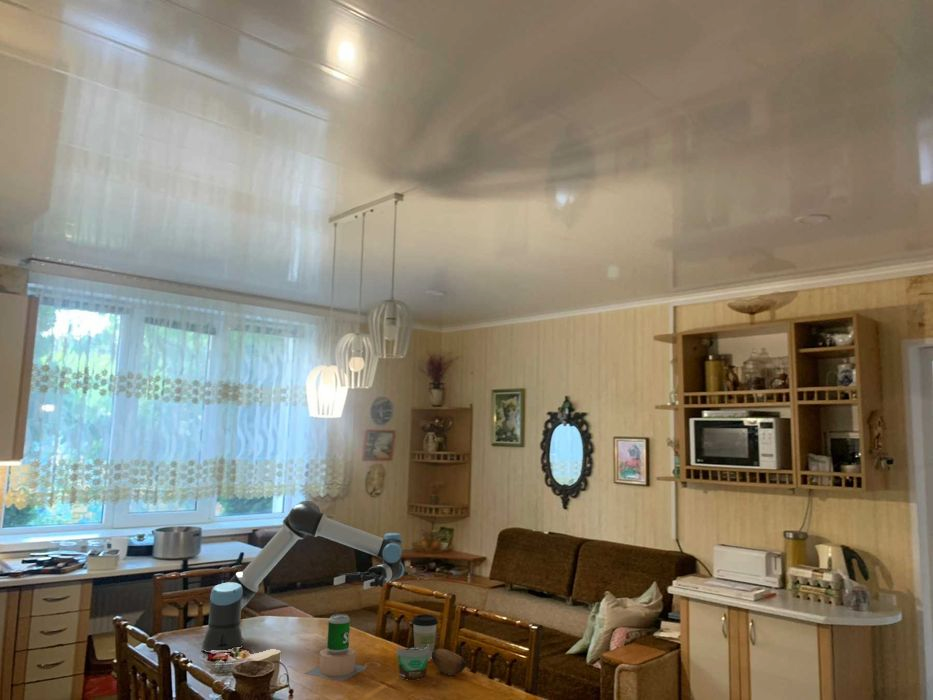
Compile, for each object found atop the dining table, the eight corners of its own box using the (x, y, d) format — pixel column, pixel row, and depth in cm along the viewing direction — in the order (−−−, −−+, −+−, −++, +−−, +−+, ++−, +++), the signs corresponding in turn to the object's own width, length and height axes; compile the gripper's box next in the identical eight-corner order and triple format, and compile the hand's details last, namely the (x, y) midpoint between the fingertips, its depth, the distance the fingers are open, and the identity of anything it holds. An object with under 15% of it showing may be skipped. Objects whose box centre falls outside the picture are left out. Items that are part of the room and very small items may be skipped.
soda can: (338, 656, 224) (339, 619, 226) (322, 652, 228) (324, 616, 230) (353, 651, 230) (354, 615, 232) (337, 647, 234) (339, 612, 236)
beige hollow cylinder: (312, 672, 225) (313, 654, 226) (332, 662, 236) (333, 645, 237) (341, 678, 220) (342, 659, 221) (360, 667, 231) (361, 649, 232)
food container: (402, 683, 219) (403, 652, 220) (395, 678, 224) (396, 647, 226) (435, 678, 224) (436, 648, 226) (428, 673, 230) (428, 643, 231)
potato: (462, 684, 229) (458, 677, 223) (429, 669, 234) (424, 662, 228) (471, 663, 233) (467, 655, 227) (438, 649, 238) (433, 641, 233)
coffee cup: (433, 664, 240) (434, 621, 242) (407, 662, 241) (409, 619, 244) (439, 656, 249) (440, 615, 251) (415, 654, 251) (416, 613, 253)
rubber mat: (303, 676, 224) (303, 673, 224) (330, 663, 238) (331, 660, 238) (342, 684, 217) (342, 680, 218) (368, 669, 232) (368, 666, 232)
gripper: (404, 588, 262) (376, 598, 243) (352, 580, 272) (322, 589, 253) (405, 568, 263) (377, 577, 244) (354, 562, 273) (323, 569, 254)
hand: (349, 583), depth 249 cm, fingers open, 13 cm apart
